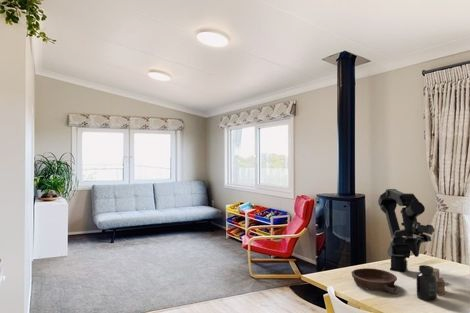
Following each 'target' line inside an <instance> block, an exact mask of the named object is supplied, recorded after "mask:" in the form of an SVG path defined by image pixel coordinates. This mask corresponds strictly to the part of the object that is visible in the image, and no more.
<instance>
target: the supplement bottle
mask: <svg viewBox="0 0 470 313" xmlns="http://www.w3.org/2000/svg"><path fill="white" fill-rule="evenodd" d="M433 268H434V267H433V266H431V265H426V264H421V265H419V266H418V271H419V272H417V273H416V275H415V276H416V277H415V278H416V296H417V298H418V299H420V300H422V301H426V302H433V301H434V302H435V301H437V299H438V294H437V281H436V276H435V275H434V274H433Z"/></svg>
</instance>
